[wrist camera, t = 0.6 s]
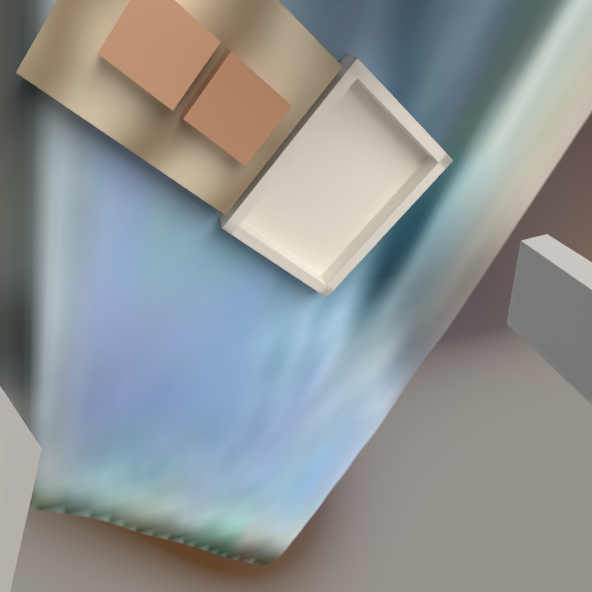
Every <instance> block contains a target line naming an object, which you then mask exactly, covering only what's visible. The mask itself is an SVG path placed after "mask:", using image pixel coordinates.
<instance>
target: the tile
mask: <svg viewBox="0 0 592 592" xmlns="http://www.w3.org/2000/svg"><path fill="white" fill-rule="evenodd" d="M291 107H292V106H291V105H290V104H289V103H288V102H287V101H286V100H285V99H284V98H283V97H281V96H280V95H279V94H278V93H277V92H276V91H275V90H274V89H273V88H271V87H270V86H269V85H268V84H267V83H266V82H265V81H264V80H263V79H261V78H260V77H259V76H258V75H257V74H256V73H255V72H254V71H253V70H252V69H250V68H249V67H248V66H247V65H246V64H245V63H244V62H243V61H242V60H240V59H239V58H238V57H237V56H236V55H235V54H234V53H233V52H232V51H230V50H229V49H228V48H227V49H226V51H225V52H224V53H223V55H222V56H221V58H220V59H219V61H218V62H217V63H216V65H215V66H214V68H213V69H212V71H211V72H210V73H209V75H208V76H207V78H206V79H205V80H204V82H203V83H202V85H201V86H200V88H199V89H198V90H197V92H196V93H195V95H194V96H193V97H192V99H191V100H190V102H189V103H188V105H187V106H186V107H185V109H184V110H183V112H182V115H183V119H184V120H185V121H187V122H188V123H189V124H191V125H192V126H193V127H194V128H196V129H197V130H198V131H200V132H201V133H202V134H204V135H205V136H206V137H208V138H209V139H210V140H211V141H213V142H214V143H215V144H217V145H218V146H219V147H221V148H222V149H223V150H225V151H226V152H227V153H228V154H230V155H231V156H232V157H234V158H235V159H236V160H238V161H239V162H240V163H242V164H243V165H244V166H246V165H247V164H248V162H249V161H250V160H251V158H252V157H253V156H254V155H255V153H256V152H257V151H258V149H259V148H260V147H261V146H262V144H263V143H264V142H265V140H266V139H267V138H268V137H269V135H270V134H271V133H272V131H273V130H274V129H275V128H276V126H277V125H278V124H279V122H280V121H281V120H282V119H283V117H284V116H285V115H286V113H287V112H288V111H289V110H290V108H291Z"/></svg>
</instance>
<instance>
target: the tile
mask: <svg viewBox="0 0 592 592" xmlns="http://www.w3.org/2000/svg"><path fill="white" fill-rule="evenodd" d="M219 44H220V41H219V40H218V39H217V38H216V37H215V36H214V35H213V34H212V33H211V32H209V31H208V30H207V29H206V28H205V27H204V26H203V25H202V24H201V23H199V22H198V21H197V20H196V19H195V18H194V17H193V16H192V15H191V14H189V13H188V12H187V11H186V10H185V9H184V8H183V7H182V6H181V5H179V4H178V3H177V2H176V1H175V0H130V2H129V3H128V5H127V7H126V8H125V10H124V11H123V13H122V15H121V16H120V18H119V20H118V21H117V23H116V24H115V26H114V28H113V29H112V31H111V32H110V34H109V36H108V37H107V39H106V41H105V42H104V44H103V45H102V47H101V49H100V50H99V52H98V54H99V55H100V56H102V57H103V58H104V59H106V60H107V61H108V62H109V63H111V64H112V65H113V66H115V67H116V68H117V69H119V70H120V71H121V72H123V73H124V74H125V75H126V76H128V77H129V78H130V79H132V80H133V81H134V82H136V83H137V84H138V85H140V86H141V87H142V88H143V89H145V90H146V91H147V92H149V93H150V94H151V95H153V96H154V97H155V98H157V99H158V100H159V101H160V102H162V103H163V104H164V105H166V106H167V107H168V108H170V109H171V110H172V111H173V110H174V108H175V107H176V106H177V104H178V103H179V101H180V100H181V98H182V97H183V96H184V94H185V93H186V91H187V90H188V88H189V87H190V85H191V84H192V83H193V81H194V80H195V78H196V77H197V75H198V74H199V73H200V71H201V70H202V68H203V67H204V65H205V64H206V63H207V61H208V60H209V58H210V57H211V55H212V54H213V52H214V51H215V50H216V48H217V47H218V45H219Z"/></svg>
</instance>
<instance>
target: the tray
mask: <svg viewBox="0 0 592 592" xmlns="http://www.w3.org/2000/svg"><path fill="white" fill-rule="evenodd" d="M340 64H341V65H342V66H343V67H342V69H341V70H340V71H339V72H338V74H337V75H336V76H335V77H334V79H333V80H332V81H331V82H330V84H329V85H328V86H327V87H326V89H325V90H324V91H323V93H322V94H321V95H320V96H319V98H318V99H317V100H316V101H315V103H314V104H313V105H312V106H311V108H310V109H309V110H308V112H307V113H306V114H305V115H304V117H303V118H302V119H301V120H300V122H299V123H298V124H297V125H296V127H295V128H294V129H293V131H292V132H291V133H290V134H289V136H288V137H287V138H286V139H285V141H284V142H283V143H282V144H281V146H280V147H279V148H278V149H277V151H276V152H275V153H274V155H273V156H272V157H271V158H270V160H269V161H268V162H267V163H266V165H265V166H264V167H263V168H262V170H261V171H260V172H259V174H258V175H257V176H256V177H255V179H254V180H253V181H252V182H251V184H250V185H249V186H248V187H247V189H246V190H245V191H244V193H243V194H242V195H241V196H240V198H239V199H238V200H237V201H236V203H235V204H234V205H233V206H232V208H231V209H230V210H229V211H228V213H227V214H226V215H224V214H223V213H221V214H220V215H219V219H220V223H221V226H222V229H224V230H225V231H227V232H228V233H230V234H231V235H233V236H234V237H236V238H237V239H239V240H240V241H242V242H243V243H245V244H246V245H248V246H249V247H251V248H252V249H254V250H255V251H257V252H258V253H260V254H262V255H263V256H265V257H266V258H268V259H269V260H271V261H272V262H274V263H275V264H277V265H278V266H280V267H281V268H283V269H284V270H286V271H287V272H289V273H290V274H292V275H293V276H295V277H296V278H298V279H299V280H301V281H302V282H304V283H305V284H307V285H308V286H310V287H311V288H313V289H315V290H316V291H318V292H319V293H321V294H322V295H324V296H325V297H328V296H329V294H330V293H331V292H332V291H333V290H334V289H335V288H336V287H337V286H338V285H339V284H340V283H341V281H342V280H343V279H344V278H345V277H346V276H347V275H348V274H349V273H350V272H351V271H352V270H353V268H354V267H355V266H356V265H357V264H358V263H359V262H360V261H361V260H362V259H363V258H364V257H365V255H366V254H367V253H368V252H369V251H370V250H371V249H372V248H373V247H374V246H375V245H376V244H377V242H378V241H379V240H380V239H381V238H382V237H383V236H384V235H385V234H386V233H387V232H388V230H389V229H390V228H391V227H392V226H393V225H394V224H395V223H396V222H397V221H398V220H399V219H400V217H401V216H402V215H403V214H404V213H405V212H406V211H407V210H408V209H409V208H410V207H411V206H412V204H413V203H414V202H415V201H416V200H417V199H418V198H419V197H420V196H421V195H422V194H423V193H424V191H425V190H426V189H427V188H428V187H429V186H430V185H431V184H432V183H433V182H434V181H435V180H436V178H437V177H438V176H439V175H440V174H441V173H442V172H443V171H444V170H445V169H446V168H447V167H448V165H449V164H450V163H451V162H452V161H453V160H452V159H451V158H450V157H449V156H448V154H447V153H446V152H445V151H444V150H443V149H442V148H441V147H440V146H439V145H438V144H437V143H436V142H435V141H434V139H433V138H432V137H431V136H430V135H429V134H428V133H427V132H426V131H425V130H424V129H423V128H422V127H421V126H420V124H419V123H418V122H417V121H416V120H415V119H414V118H413V117H412V116H411V115H410V114H409V113H408V112H407V111H406V109H405V108H404V107H403V106H402V105H401V104H400V103H399V102H398V101H397V100H396V99H395V98H394V97H393V96H392V94H391V93H390V92H389V91H388V90H387V89H386V88H385V87H384V86H383V85H382V84H381V83H380V82H379V81H378V79H377V78H376V77H375V76H374V75H373V74H372V73H371V72H370V71H369V70H368V69H367V68H366V67H365V66H364V64H363V63H362V62H361V61H360V60H359V59H358V58H356V57H353V56H350V55H347V54H346V55H345V56H344V58H343V59H342V60H341V62H340Z"/></svg>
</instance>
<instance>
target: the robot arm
mask: <svg viewBox="0 0 592 592" xmlns="http://www.w3.org/2000/svg"><path fill="white" fill-rule="evenodd" d="M507 324H508V325H509V326H510V327H511V328H512V329H513V330H514V331H515V332H516V333H517V334H518V335H519V336H520V337H521V338H522V339H523V340H525V341H526V342H527V343H528V344H529V345H530V346H531V347H532V348H533V349H534V350H535V351H536V352H537V353H538V354H539V355H540V356H541V357H542V358H543V359H544V360H545V361H547V362H548V363H549V364H550V365H551V366H552V367H553V368H554V369H555V370H556V371H557V372H558V373H559V374H560V375H561V376H562V377H563V378H564V379H566V381H567V382H569V383H570V384H571V385H572V386H573V387H574V388H575V389H576V390H577V391H578V392H579V393H580V394H581V395H582V396H583V397H584V398H585V399H586V400H588V402H590V403H591V404H592V262H590V261H588V260H587V259H585V258H584V257H582V256H580V255H579V254H577V253H576V252H574V251H573V250H571V249H569V248H568V247H566V246H565V245H563V244H562V243H560V242H558V241H557V240H555V239H554V238H552V237H551V236H549V235H543V236H538V237H534V238H530V239H526V240H522V241H521V244H520V250H519V256H518V262H517V267H516V273H515V279H514V285H513V290H512V296H511V302H510V308H509V314H508V319H507ZM41 452H42V449H41V447H40V446H39V444H38V443H37V441H36V440H35V438H34V437H33V435H32V434H31V432H30V431H29V429H28V427H27V426H26V424H25V423H24V421H23V420H22V418H21V417H20V415H19V414H18V412H17V411H16V409H15V408H14V406H13V405H12V403H11V402H10V400H9V399H8V397H7V396H6V394H5V393H4V391H3V390H2V388H1V386H0V592H10V589H11V585H12V581H13V576H14V572H15V567H16V563H17V558H18V554H19V550H20V545H21V541H22V536H23V531H24V527H25V523H26V519H27V514H28V510H29V505H30V501H31V496H32V492H33V487H34V483H35V479H36V474H37V470H38V465H39V461H40V456H41Z"/></svg>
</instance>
